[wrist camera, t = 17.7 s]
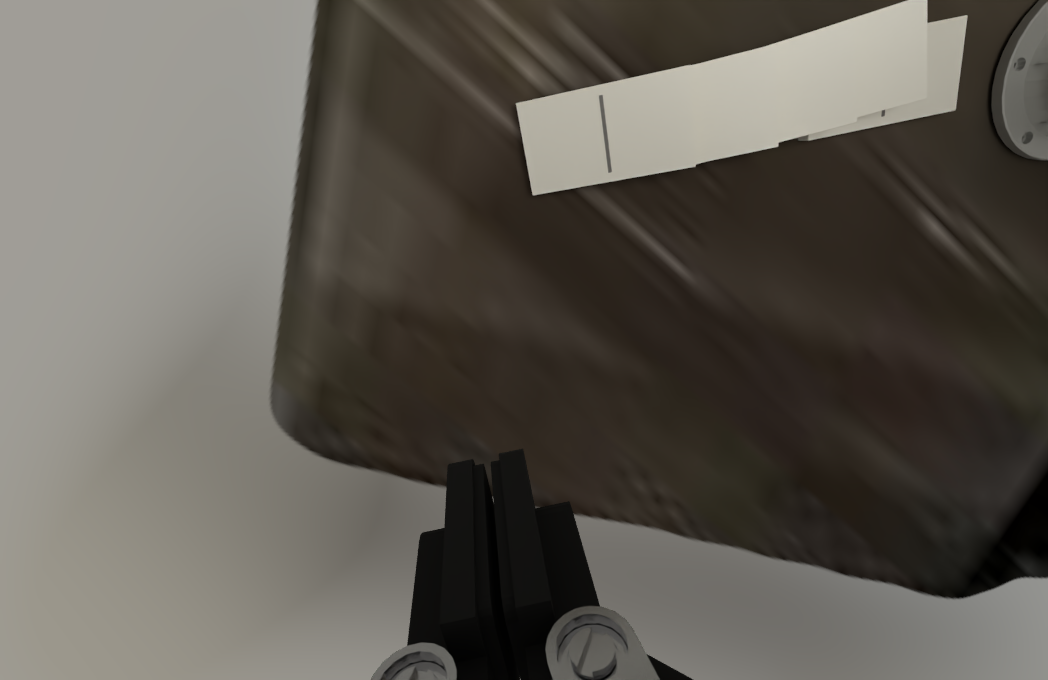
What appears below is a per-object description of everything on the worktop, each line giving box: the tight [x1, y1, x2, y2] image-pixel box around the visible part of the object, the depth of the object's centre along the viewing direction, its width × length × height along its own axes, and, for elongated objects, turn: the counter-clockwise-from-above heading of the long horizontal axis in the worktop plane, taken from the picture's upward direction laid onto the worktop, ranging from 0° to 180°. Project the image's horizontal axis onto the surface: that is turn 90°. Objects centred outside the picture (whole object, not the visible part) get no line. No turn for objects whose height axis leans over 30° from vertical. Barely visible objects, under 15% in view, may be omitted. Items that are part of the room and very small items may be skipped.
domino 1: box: [516, 65, 696, 195], centre depth 34 cm, size 1×6×11 cm
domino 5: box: [798, 15, 968, 141], centre depth 36 cm, size 1×6×11 cm
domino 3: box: [698, 19, 857, 164], centre depth 34 cm, size 1×6×11 cm
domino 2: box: [690, 44, 778, 164], centre depth 34 cm, size 1×6×11 cm
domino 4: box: [818, 0, 927, 117], centre depth 34 cm, size 1×6×11 cm
